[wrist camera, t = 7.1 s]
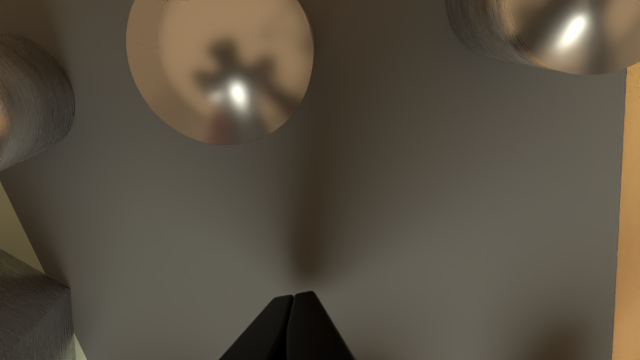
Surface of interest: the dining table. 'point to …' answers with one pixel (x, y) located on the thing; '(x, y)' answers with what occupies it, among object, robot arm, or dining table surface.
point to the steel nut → (33, 314)
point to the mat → (334, 197)
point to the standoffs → (281, 61)
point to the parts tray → (20, 245)
